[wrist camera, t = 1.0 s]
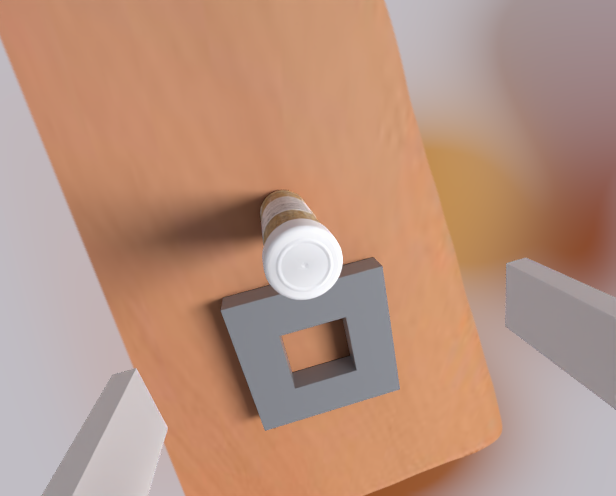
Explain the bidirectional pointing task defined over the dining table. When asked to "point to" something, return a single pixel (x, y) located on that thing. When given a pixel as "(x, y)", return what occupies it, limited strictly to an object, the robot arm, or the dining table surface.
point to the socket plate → (304, 314)
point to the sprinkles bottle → (297, 248)
